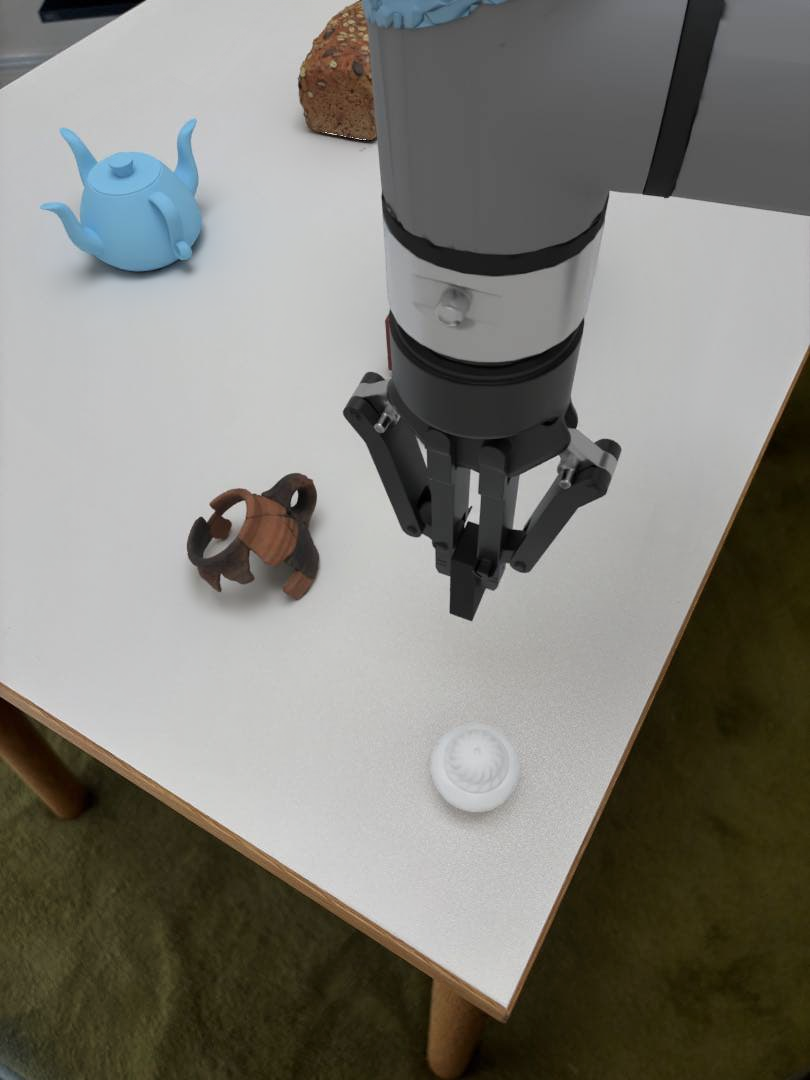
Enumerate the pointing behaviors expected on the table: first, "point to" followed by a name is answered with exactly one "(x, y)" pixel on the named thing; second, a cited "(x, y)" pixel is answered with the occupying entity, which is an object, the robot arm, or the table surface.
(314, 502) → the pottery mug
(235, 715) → the table surface
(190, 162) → the teapot
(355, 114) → the bread
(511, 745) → the muffin
